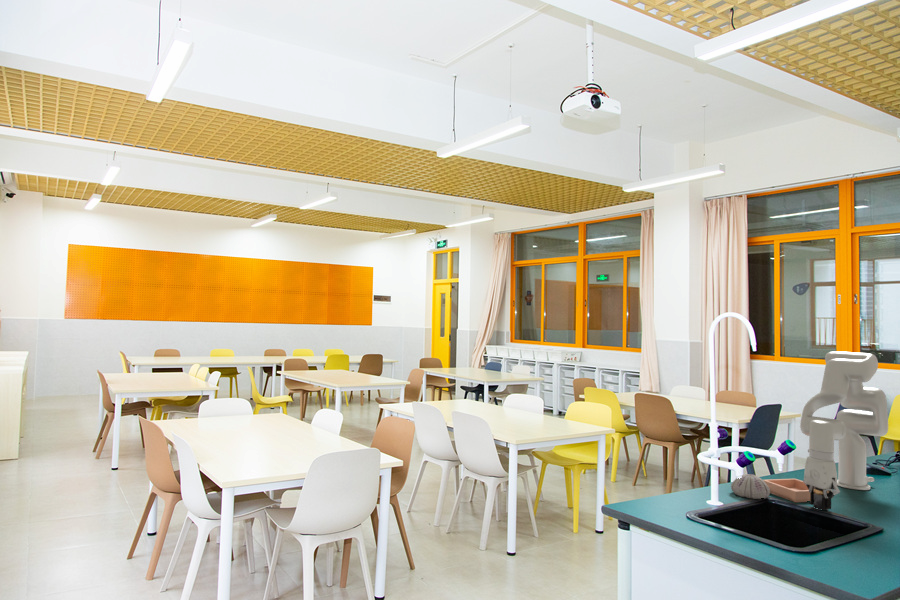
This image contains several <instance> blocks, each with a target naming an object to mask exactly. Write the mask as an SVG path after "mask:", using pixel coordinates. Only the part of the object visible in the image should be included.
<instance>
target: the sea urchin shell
mask: <svg viewBox="0 0 900 600" xmlns="http://www.w3.org/2000/svg"><path fill="white" fill-rule="evenodd" d="M741 476H742V478H740V479H739V478H738V479H737V477H736V478H735V479H734V480H733V482H731V484H730V487H731V488H730V490H731V491H732V492H733V493H734V494H735V495H737V496H738V497H742V498H746V499H753V500H762V499H761V498H764V499H767V498H768V497H770V494H771V493H770V489H769V487H768V485H767V484H766V483H765V482H764V481H763V480H764V479H763V478H761V477H760V476H758V475H757V474H751V473H747V474H742V475H741Z"/></svg>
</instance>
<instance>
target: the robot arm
mask: <svg viewBox="0 0 900 600" xmlns="http://www.w3.org/2000/svg"><path fill="white" fill-rule="evenodd" d="M824 360H825V361H824V362H825V367H824V372H823V377H822V381H821V389H820V391H819V393H817V394H815V395H814V396H812V397H811V398H810V399H809V400H808V401H807V402H806V403H805V405H804V407H803V409H802V413H801V418H800V422H799V423H800V426H799V427H800V431H801V433H802V434H803V435H805V436H806V437H808V438H809V443H808V445H809V446H808V449H807V452H808V456H806V460H805V464H804V473H803V480H802V481H803V482H804V483H805V484H806V485H807V488H808V489H809V493H810V502H809V504H810V505H812V506H813V497H814V493H813V488H814V487H817V488H820V489H823V493H824V497H825V498H823V505H822V508H823V509H828V510H832V499H834V497H835V496H836V495H839V494H840V493H841V490H840V489H839V487H842V488H845V489H850V490H855V491H856V490H858V491H869V490H871V485H870V484H868V483H871V482H875V478H874V477H872V476H867V444H866V442H865V440H864V439H863V438H862V436H861V435H865V436H873V437H884V436H885V435H887V433H888V431H889V415H888V401H887V395H886V393H885V391H884V390H883V389H880V388H878V387H869V386H864V384H863V383H868V382H869V381H870V380H871V379H872V378H873V377H874V376H875V374H876V373H877V370H878V367H879V362H878V357H877V356H876V355H875V354H873V353H867V352H851V351H837V350H836V351H835V350H834V351H829V352H827V353H826V354H825V356H824ZM838 403H839V404H840V405H841V407H843V408H844V409H841V410H839V411H838V412H837V414H836V419H835V418H829V417H821V416H813V415H814V414H815V413H816V412H817V411H818V410H819V409H821V408H824V407H827V406H828V407H829V406H831V405H834V404H838ZM845 408H846V409H845ZM835 441H838V472H837V466H836V462H835V461H834V460H835V459H834V458H835V451H834V450H835ZM827 491H828V492H829V493H828V492H827Z"/></svg>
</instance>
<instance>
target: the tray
mask: <svg viewBox="0 0 900 600" xmlns="http://www.w3.org/2000/svg"><path fill="white" fill-rule="evenodd" d="M762 480H763V481H764V482H765V483H766V484H767V485H768V487H769V489H770V494H771V495H775V496H777V497H780V498H782V499H786V500H788V501H790V502H792V503H808V502H807V501H810V493H809V489H808V488H807V485H806V484H805V483H804V482H803V480H801V479H797V478H775V479H773V478H771V479H762ZM828 493H829V492H828Z"/></svg>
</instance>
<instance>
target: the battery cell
mask: <svg viewBox="0 0 900 600" xmlns="http://www.w3.org/2000/svg"><path fill="white" fill-rule="evenodd" d="M827 492H828V491H827ZM813 493H814V497H813V505H812V507H815V508H818V509H822V510H821V511H823V510H827V511H829V509H823V508H822V505H823V498H825V497H824V493H823V489H820V488H817V487H814V488H813ZM815 508H814V509H815Z"/></svg>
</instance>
